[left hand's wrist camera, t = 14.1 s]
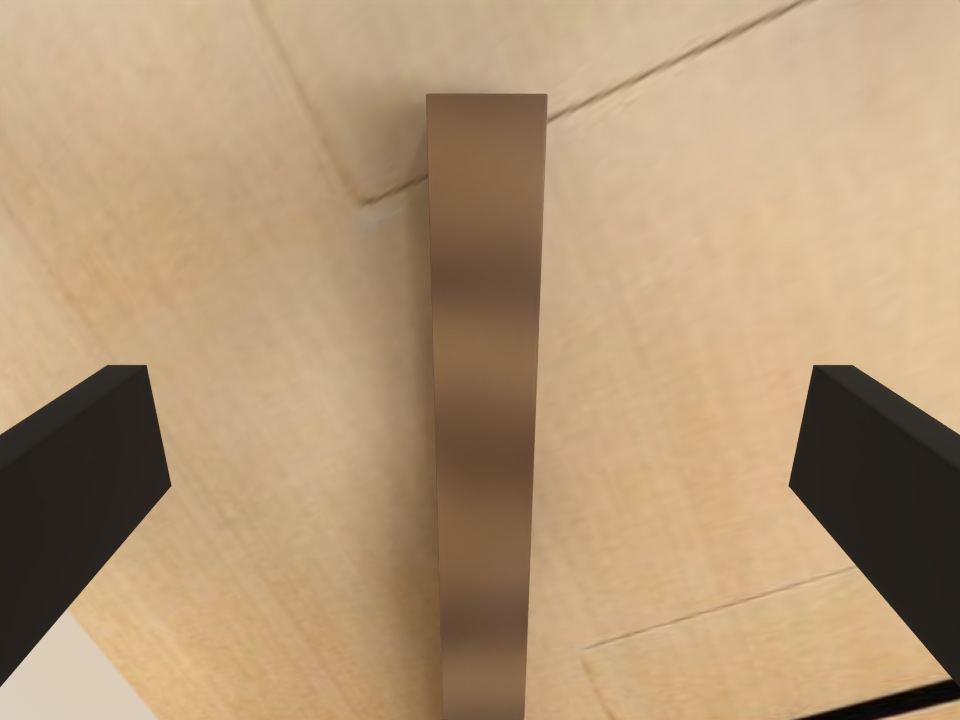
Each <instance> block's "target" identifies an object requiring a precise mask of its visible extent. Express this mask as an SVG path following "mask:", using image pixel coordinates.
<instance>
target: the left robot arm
mask: <svg viewBox="0 0 960 720" xmlns="http://www.w3.org/2000/svg"><path fill="white" fill-rule="evenodd" d="M170 487H171V482H170V477H169V472H168V467H167V462H166V457H165V452H164V448H163V443H162V438H161V433H160V428H159V423H158V419H157V414H156V409H155V404H154V399H153V394H152V390H151V385H150V380H149V375H148V370H147V365H107V366H105V367H104V368H102V369H101V370H99V371H98V372H96V373H95V374H93V375H92V376H90V377H89V378H87V379H85V380H84V381H82V382H81V383H79V384H78V385H76V386H75V387H73V388H72V389H70V390H69V391H67V392H65V393H64V394H62V395H61V396H59V397H58V398H56V399H55V400H53V401H52V402H50V403H49V404H47V405H45V406H44V407H42V408H41V409H39V410H38V411H36V412H35V413H33V414H32V415H30V416H29V417H27V418H25V419H24V420H22V421H21V422H19V423H18V424H16V425H15V426H13V427H12V428H10V429H9V430H7V431H5V432H4V433H2V434H1V435H0V687H1V686H2V684H3V683H4V682H5V681H6V680H7V679H8V677H9V676H10V675H11V674H12V673H13V672H14V670H15V669H16V668H17V667H18V666H19V664H20V663H21V662H22V661H23V660H24V659H25V657H26V656H27V655H28V654H29V653H30V651H31V650H32V649H33V648H34V647H35V646H36V644H37V643H38V642H39V641H40V640H41V639H42V637H43V636H44V635H45V634H46V633H47V632H48V630H49V629H50V628H51V627H52V626H53V624H54V623H55V622H56V621H57V620H58V618H59V617H60V616H61V615H62V614H63V613H64V612H65V610H66V609H67V608H68V607H69V606H70V605H71V603H72V602H73V601H74V600H75V599H76V597H77V596H78V595H79V594H80V593H81V592H82V590H83V589H84V588H85V587H86V586H87V585H88V583H89V582H90V581H91V580H92V579H93V577H94V576H95V575H96V574H97V573H98V572H99V570H100V569H101V568H102V567H103V566H104V565H105V563H106V562H107V561H108V560H109V559H110V557H111V556H112V555H113V554H114V553H115V552H116V550H117V549H118V548H119V547H120V546H121V545H122V543H123V542H124V541H125V540H126V539H127V537H128V536H129V535H130V534H131V533H132V532H133V530H134V529H135V528H136V527H137V526H138V525H139V523H140V522H141V521H142V520H143V519H144V517H145V516H146V515H147V514H148V513H149V512H150V510H151V509H152V508H153V507H154V506H155V505H156V503H157V502H158V501H159V500H160V499H161V497H162V496H163V495H164V494H165V493H166V492H167V490H168V489H169V488H170ZM789 487H790V488H791V489H792V490H793V492H794V493H795V494H796V495H797V496H798V497H799V499H800V500H801V501H802V502H803V503H804V505H805V506H806V507H807V508H808V509H809V510H810V512H811V513H812V514H813V515H814V516H815V517H816V519H817V520H818V521H819V522H820V523H821V525H822V526H823V527H824V528H825V529H826V530H827V532H828V533H829V534H830V535H831V536H832V537H833V539H834V540H835V541H836V542H837V543H838V545H839V546H840V547H841V548H842V549H843V550H844V552H845V553H846V554H847V555H848V556H849V557H850V559H851V560H852V561H853V562H854V563H855V565H856V566H857V567H858V568H859V569H860V570H861V572H862V573H863V574H864V575H865V576H866V577H867V579H868V580H869V581H870V582H871V583H872V585H873V586H874V587H875V588H876V589H877V590H878V592H879V593H880V594H881V595H882V596H883V597H884V599H885V600H886V601H887V602H888V603H889V605H890V606H891V607H892V608H893V609H894V610H895V612H896V613H897V614H898V615H899V616H900V617H901V619H902V620H903V621H904V622H905V623H906V624H907V626H908V627H909V628H910V629H911V630H912V632H913V633H914V634H915V635H916V636H917V637H918V639H919V640H920V641H921V642H922V643H923V644H924V646H925V647H926V648H927V649H928V650H929V652H930V653H931V654H932V655H933V656H934V657H935V659H936V660H937V661H938V662H939V663H940V664H941V666H942V667H943V668H944V669H945V670H946V672H947V673H948V674H949V675H950V676H951V677H952V679H953V680H954V681H955V682H956V683H957V684H958V686H959V687H960V435H959V434H958V433H956V432H955V431H953V430H951V429H950V428H948V427H947V426H945V425H944V424H942V423H941V422H939V421H938V420H936V419H935V418H933V417H931V416H930V415H928V414H927V413H925V412H924V411H922V410H921V409H919V408H918V407H916V406H915V405H913V404H911V403H910V402H908V401H907V400H905V399H904V398H902V397H901V396H899V395H898V394H896V393H895V392H893V391H891V390H890V389H888V388H887V387H885V386H884V385H882V384H881V383H879V382H878V381H876V380H875V379H873V378H871V377H870V376H868V375H867V374H865V373H864V372H862V371H861V370H859V369H858V368H856V367H855V366H853V365H813V370H812V375H811V380H810V385H809V390H808V394H807V399H806V404H805V409H804V414H803V419H802V423H801V428H800V433H799V438H798V443H797V448H796V452H795V457H794V462H793V467H792V472H791V477H790V481H789Z"/></svg>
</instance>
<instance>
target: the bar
mask: <svg viewBox="0 0 960 720" xmlns="http://www.w3.org/2000/svg"><path fill="white" fill-rule="evenodd" d="M547 96H548V95H547V94H426V106H427V143H428V181H429V218H430V255H431V292H432V329H433V366H434V403H435V440H436V477H437V514H438V551H439V588H440V625H441V662H442V699H443V720H524V711H525V684H526V657H527V630H528V604H529V577H530V550H531V524H532V497H533V470H534V443H535V417H536V390H537V363H538V337H539V310H540V283H541V256H542V230H543V203H544V176H545V149H546V123H547Z"/></svg>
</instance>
